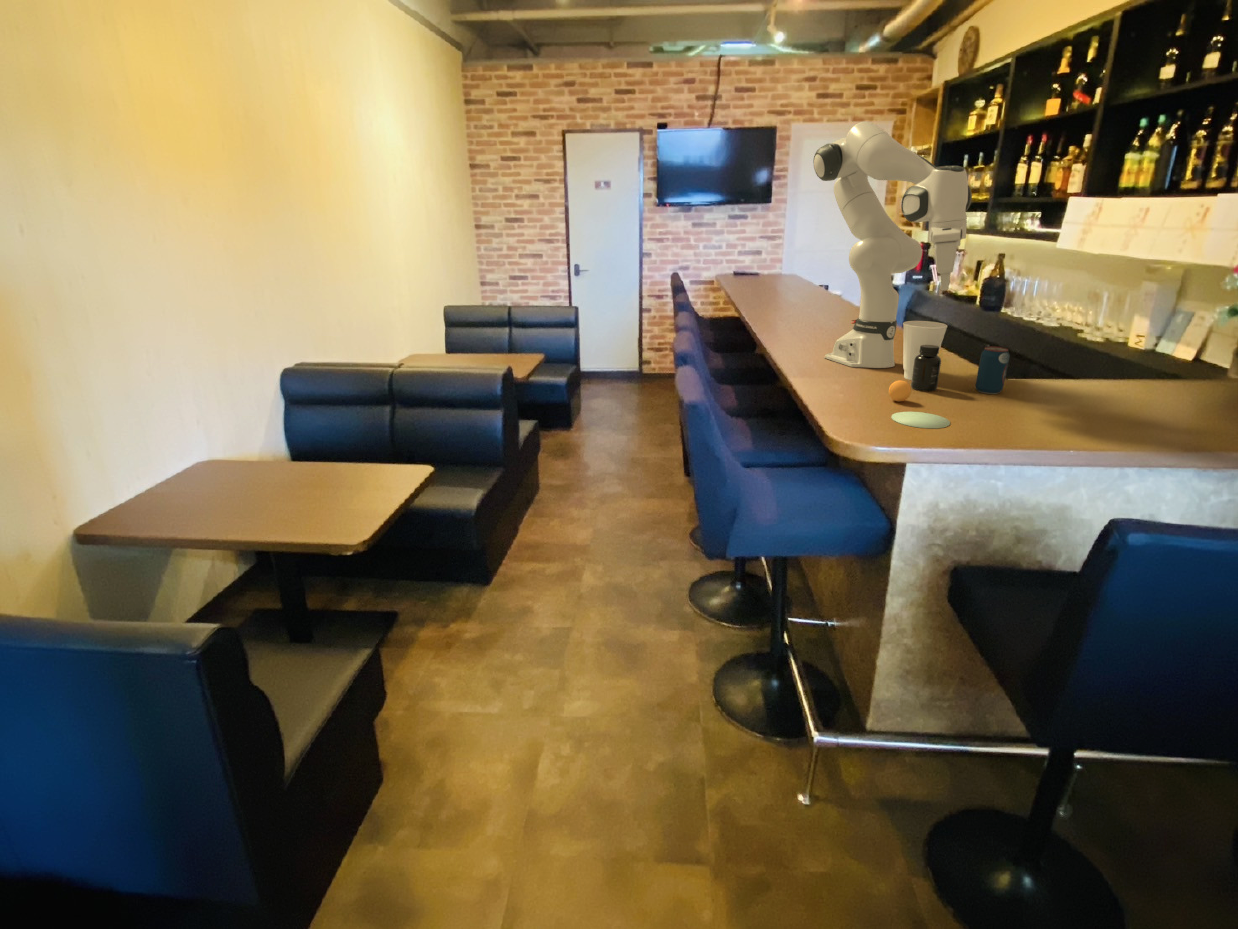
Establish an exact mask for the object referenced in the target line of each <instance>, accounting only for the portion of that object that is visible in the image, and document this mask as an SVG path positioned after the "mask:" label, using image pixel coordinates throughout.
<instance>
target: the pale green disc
mask: <svg viewBox="0 0 1238 929" xmlns="http://www.w3.org/2000/svg"><path fill="white" fill-rule="evenodd" d="M890 418H891V420H892V421H894V422H896V423H898V424H901V425H904V426H907V427H913V428H920V429H942V428H943V429H944V428H946V427H949V426H950V424H951V421H950V420H949V419H948V418H945V416H944V417H943V416H941V415H937V414H934V413H928V412H922V411H900V412H899V411H898V412H895V413H893V414H891V416H890Z"/></svg>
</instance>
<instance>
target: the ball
mask: <svg viewBox="0 0 1238 929" xmlns="http://www.w3.org/2000/svg"><path fill="white" fill-rule="evenodd" d="M911 393H912V387H911V384H910V383H908V381H905V380H895V381H894V382H892V383H891V384H890V385H889V388H888V396H889V397H890V399H891V400H893V401H895V402H904V401H907V400H908V399H909V398H910V396H911Z"/></svg>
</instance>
